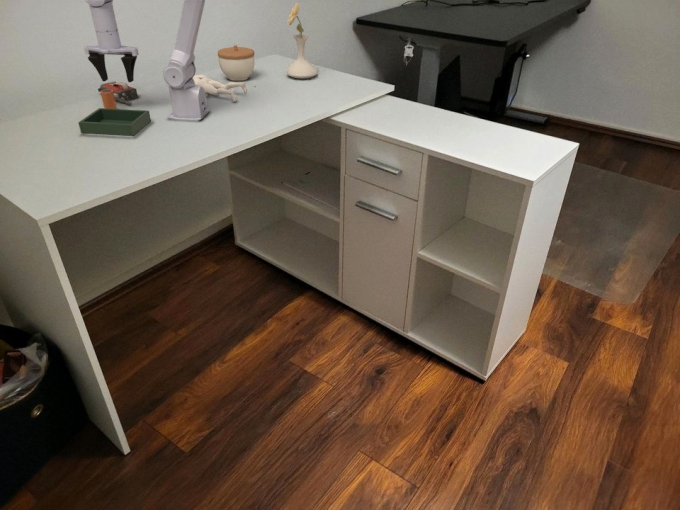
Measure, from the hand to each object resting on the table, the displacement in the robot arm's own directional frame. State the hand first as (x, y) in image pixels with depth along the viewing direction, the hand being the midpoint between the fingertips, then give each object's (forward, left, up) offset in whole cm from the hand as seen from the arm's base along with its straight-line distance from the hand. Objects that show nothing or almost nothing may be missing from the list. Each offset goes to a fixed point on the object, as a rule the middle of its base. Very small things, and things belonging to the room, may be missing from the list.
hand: (118, 80), depth 149 cm
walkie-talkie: (+6, -12, -10) cm, 17 cm away
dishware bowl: (-24, -40, -9) cm, 47 cm away
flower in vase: (-46, -45, -10) cm, 65 cm away
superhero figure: (-19, -21, -10) cm, 30 cm away
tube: (+3, +2, -9) cm, 10 cm away
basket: (-4, +13, -9) cm, 16 cm away
